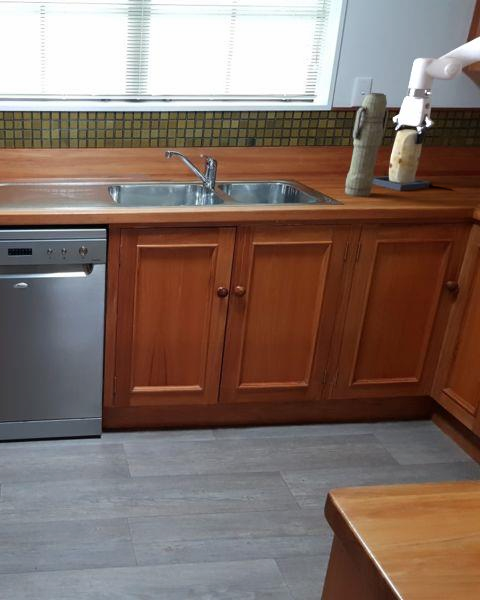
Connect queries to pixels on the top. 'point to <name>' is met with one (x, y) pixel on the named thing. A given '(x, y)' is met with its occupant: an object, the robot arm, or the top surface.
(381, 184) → the tray
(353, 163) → the thermos
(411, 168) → the food model
